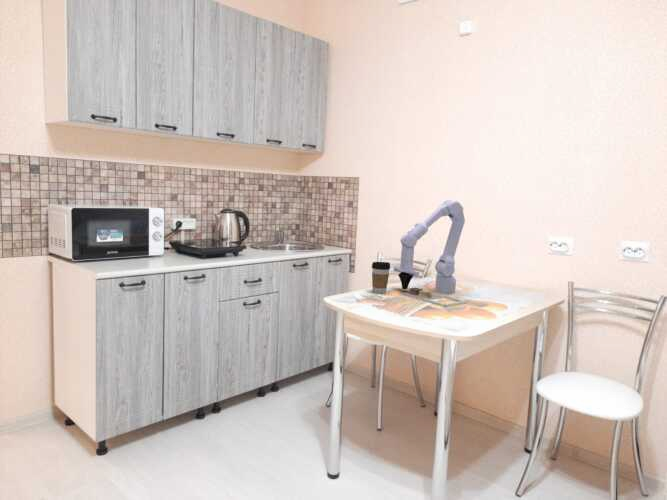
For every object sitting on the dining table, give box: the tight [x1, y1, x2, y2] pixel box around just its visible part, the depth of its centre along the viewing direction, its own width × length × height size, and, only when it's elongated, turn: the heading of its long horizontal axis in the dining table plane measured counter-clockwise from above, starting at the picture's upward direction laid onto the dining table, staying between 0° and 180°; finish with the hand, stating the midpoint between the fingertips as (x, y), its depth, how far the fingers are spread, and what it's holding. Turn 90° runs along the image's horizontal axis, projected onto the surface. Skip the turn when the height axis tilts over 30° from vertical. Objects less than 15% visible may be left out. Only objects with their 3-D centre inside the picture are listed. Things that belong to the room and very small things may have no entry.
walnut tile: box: [409, 287, 423, 295], centre depth 229 cm, size 4×4×2 cm
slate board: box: [397, 291, 444, 302], centre depth 227 cm, size 14×15×1 cm
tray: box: [422, 294, 467, 308], centre depth 217 cm, size 14×12×2 cm
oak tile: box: [419, 289, 433, 298], centre depth 225 cm, size 4×4×2 cm
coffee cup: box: [371, 261, 391, 295], centre depth 229 cm, size 8×8×15 cm
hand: (404, 288), depth 235 cm, fingers closed
